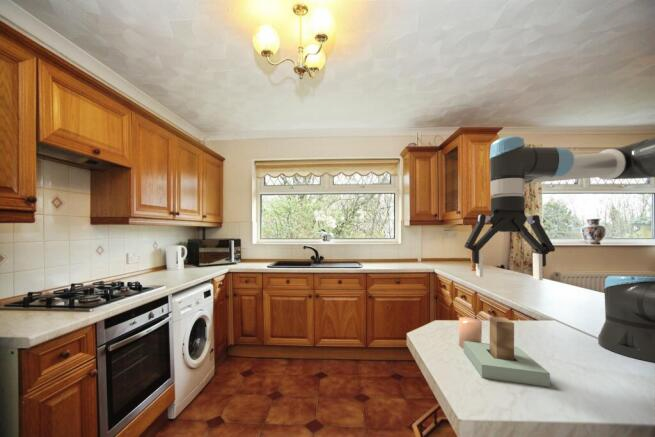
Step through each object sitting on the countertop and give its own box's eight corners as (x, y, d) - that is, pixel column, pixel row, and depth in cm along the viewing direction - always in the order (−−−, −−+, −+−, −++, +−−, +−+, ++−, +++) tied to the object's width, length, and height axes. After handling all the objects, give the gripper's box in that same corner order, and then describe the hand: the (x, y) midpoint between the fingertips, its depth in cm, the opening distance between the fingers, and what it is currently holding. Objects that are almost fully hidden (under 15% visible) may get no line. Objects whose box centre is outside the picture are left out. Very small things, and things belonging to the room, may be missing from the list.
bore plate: (517, 358, 73) (517, 346, 73) (549, 386, 59) (549, 373, 59) (463, 351, 75) (463, 341, 76) (481, 377, 62) (481, 364, 62)
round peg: (477, 344, 81) (477, 318, 82) (484, 352, 75) (485, 324, 76) (456, 342, 82) (456, 316, 83) (462, 350, 76) (462, 322, 77)
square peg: (506, 364, 69) (506, 318, 69) (514, 372, 65) (514, 323, 66) (489, 362, 70) (489, 316, 70) (496, 370, 66) (496, 321, 66)
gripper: (552, 198, 70) (553, 278, 69) (452, 198, 75) (452, 272, 74) (572, 194, 63) (574, 283, 62) (460, 195, 68) (460, 277, 67)
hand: (508, 277), depth 68 cm, fingers open, 13 cm apart
